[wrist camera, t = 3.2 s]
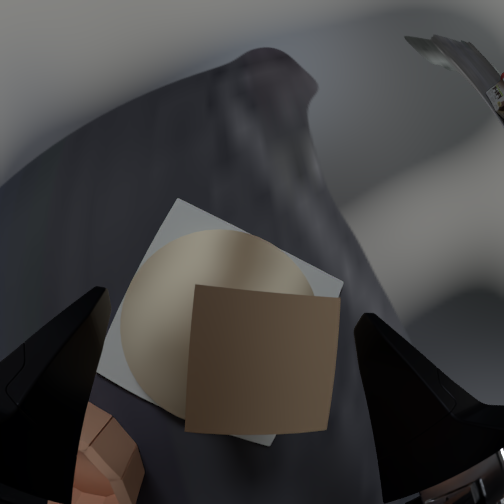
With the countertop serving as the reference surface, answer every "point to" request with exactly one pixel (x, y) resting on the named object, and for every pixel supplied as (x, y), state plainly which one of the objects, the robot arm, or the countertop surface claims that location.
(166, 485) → the countertop surface
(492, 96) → the coffee box
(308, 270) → the mat
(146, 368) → the lid
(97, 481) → the bowl
